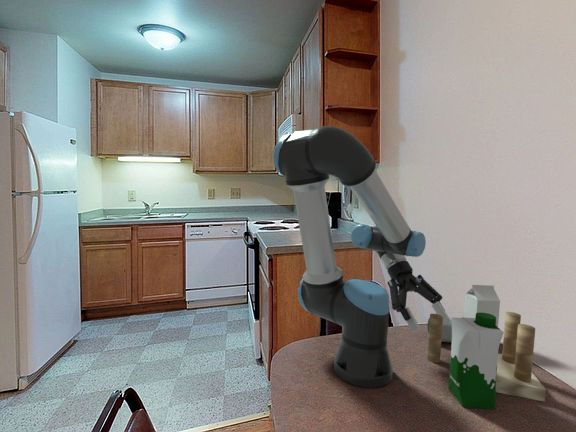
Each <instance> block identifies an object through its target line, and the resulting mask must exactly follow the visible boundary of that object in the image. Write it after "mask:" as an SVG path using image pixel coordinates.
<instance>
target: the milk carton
mask: <svg viewBox="0 0 576 432" xmlns="http://www.w3.org/2000/svg"><path fill="white" fill-rule="evenodd" d="M500 304H501V300H500V298H499V296H498V294H497V292H496V289H495V285H493V284H491V285H487V284H472V285H471V288H470V289H469V290H468V291H466V293H465V299H464V313H463V314H464V315H463V317H466V318H476V313H488V314H491V315H494V316H495V317H496V326H497V327H498V328H499V319H500V307H501V306H500Z"/></svg>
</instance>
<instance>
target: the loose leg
mask: <svg viewBox="0 0 576 432" xmlns="http://www.w3.org/2000/svg"><path fill="white" fill-rule="evenodd" d="M429 317H430V322H429V337H428V339H427V340H428V341H427V353H426V354H427V355H426V356H427V360H428V361H429V362H431V363H435V364H437V363H440V362H441V355H442V354H441V353H442V342H441V340H442V324H443V316H441V315H439V314H436V313H430V314H429Z"/></svg>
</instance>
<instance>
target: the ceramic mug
mask: <svg viewBox="0 0 576 432" xmlns="http://www.w3.org/2000/svg"><path fill="white" fill-rule="evenodd" d="M449 319H450V318H449ZM450 320H451V321H450V322H448V323H446V324H445V325H443V324H442V340H441V343H451V344H452V318H451V319H450ZM429 322H430V316H429V318H428V319H427V325H426V328H427V329H426V333H427V337H428V338H429Z"/></svg>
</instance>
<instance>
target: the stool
mask: <svg viewBox="0 0 576 432" xmlns="http://www.w3.org/2000/svg"><path fill="white" fill-rule="evenodd" d="M521 318H522V316H521V314H520V313H516V312H512V311H506V312H505V316H504V328H503V332H504V333H503V338H502V339H503V341H502V353H498V361H497V374H496V393H499V394H502V395H503V394H504V395H509V396H515V397H518V398H519V397H520V398H523V399H524V398H525V399H528V400H529V399H530V400H534V401H539V402H546V393H547V389H546V387H545V386H544V385H543V384H542V382H541V381H540V380H539V379H538V378H537V376H536V375H535V374H534V373H533V361H534V349H535V337H536V327H535V326H532V325H529V324H525V323H521Z"/></svg>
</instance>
